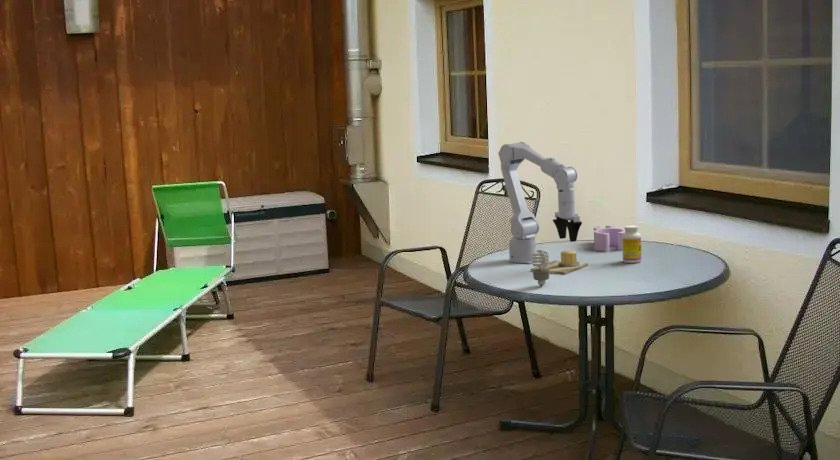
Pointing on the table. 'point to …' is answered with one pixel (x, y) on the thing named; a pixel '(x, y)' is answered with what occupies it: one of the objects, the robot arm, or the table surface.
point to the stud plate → (562, 267)
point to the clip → (607, 238)
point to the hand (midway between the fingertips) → (567, 239)
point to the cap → (568, 257)
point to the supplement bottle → (631, 245)
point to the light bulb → (541, 273)
